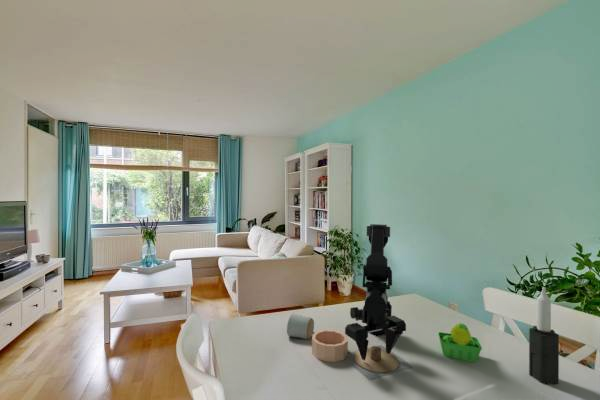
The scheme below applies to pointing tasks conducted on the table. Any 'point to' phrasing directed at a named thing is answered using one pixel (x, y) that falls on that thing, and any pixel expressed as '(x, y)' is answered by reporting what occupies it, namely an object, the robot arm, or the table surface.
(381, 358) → the lid
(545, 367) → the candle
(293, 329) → the ceramic mug
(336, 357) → the bowl
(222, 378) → the table surface
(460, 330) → the fruit basket
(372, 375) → the mat
